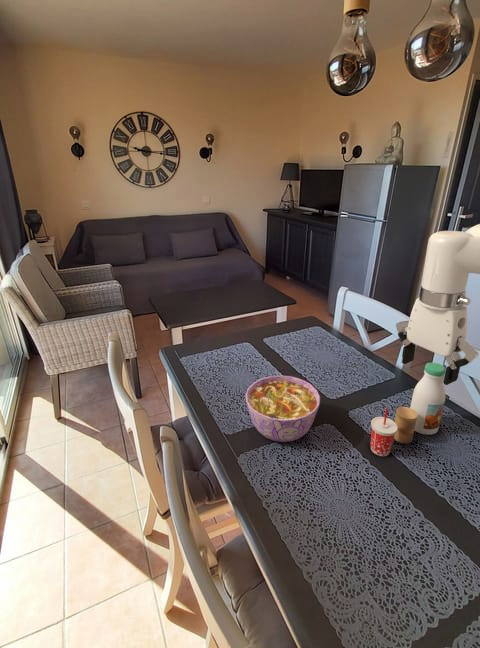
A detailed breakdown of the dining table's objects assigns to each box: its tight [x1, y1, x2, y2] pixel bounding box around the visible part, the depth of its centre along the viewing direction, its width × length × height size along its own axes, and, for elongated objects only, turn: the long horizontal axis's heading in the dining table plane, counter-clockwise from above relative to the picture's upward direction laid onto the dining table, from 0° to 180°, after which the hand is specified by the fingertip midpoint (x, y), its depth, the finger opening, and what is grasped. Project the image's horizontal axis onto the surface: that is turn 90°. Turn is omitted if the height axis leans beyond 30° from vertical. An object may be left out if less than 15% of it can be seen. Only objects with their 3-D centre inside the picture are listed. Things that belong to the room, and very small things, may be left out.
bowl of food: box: [244, 374, 321, 443], centre depth 99 cm, size 20×20×12 cm
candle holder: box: [393, 406, 417, 444], centre depth 95 cm, size 6×6×9 cm
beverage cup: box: [370, 407, 398, 457], centre depth 90 cm, size 6×6×14 cm
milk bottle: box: [409, 362, 446, 436], centre depth 97 cm, size 8×8×20 cm
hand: (427, 371), depth 77 cm, fingers open, 9 cm apart
